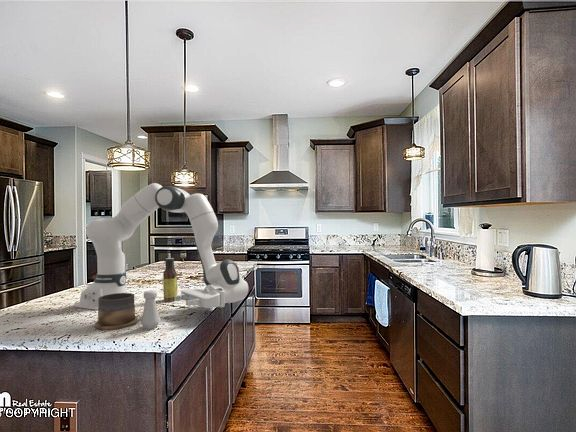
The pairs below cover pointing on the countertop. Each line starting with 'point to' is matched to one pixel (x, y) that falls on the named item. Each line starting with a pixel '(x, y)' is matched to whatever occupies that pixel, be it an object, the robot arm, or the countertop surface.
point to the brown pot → (116, 311)
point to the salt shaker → (150, 311)
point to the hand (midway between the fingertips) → (180, 301)
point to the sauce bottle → (169, 280)
